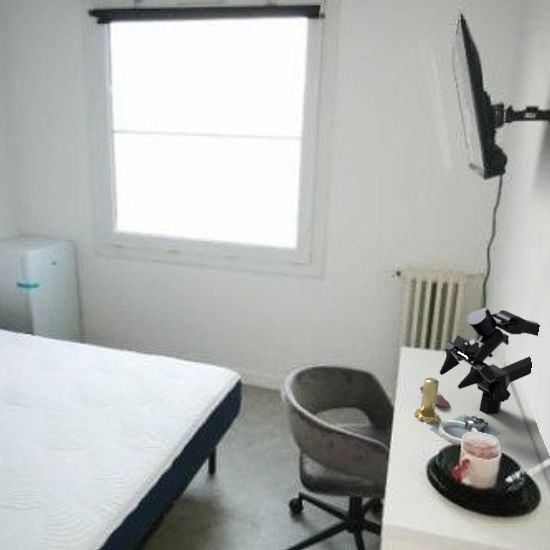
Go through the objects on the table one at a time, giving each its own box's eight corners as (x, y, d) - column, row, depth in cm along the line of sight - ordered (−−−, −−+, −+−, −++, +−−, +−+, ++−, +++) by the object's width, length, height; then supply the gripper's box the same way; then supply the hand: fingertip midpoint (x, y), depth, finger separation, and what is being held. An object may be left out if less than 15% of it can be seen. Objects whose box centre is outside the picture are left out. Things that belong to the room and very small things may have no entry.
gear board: (464, 417, 157) (465, 410, 157) (499, 436, 148) (501, 429, 147) (428, 432, 148) (429, 425, 147) (463, 453, 138) (465, 446, 138)
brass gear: (424, 411, 160) (429, 373, 156) (443, 422, 154) (449, 383, 151) (409, 417, 156) (414, 378, 152) (427, 428, 150) (433, 388, 147)
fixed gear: (472, 418, 155) (473, 411, 154) (492, 428, 150) (493, 421, 149) (458, 424, 151) (459, 416, 151) (478, 435, 146) (479, 427, 145)
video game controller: (421, 400, 170) (416, 384, 167) (432, 393, 171) (427, 377, 168) (440, 415, 161) (435, 398, 158) (452, 407, 162) (446, 391, 159)
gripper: (453, 317, 159) (418, 352, 159) (493, 339, 142) (454, 378, 142) (471, 339, 163) (436, 373, 163) (512, 363, 146) (474, 401, 146)
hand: (449, 380), depth 153 cm, fingers open, 9 cm apart
